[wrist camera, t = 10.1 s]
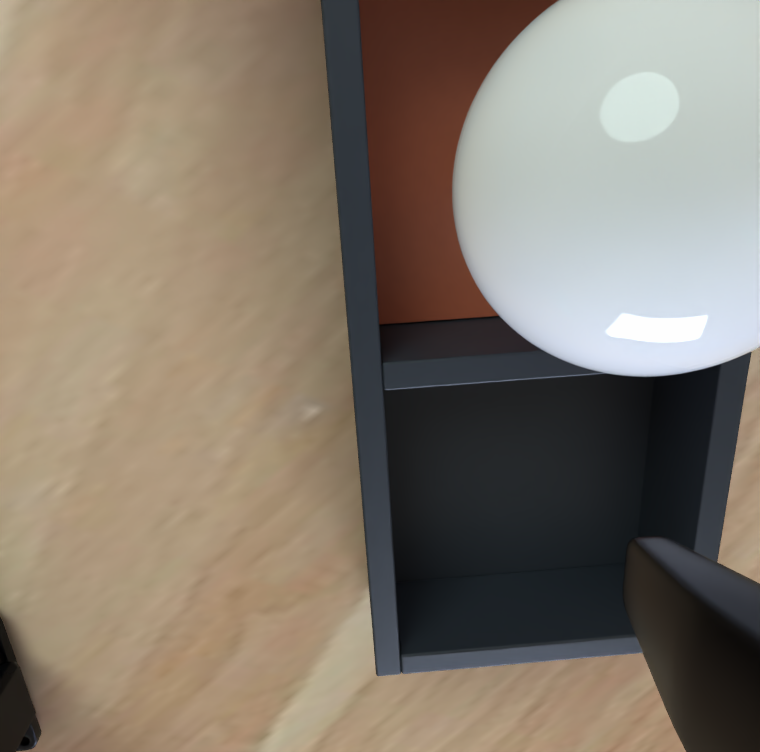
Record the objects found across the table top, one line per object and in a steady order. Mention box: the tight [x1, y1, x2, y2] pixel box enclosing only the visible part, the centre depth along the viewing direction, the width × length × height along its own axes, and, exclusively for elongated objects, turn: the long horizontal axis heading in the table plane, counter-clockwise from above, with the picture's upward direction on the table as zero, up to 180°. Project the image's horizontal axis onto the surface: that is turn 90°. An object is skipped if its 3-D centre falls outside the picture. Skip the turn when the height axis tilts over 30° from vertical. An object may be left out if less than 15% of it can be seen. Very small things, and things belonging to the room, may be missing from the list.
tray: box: [321, 0, 751, 676], centre depth 18 cm, size 11×20×4 cm, turn 3°
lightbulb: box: [452, 0, 760, 377], centre depth 13 cm, size 6×6×11 cm
